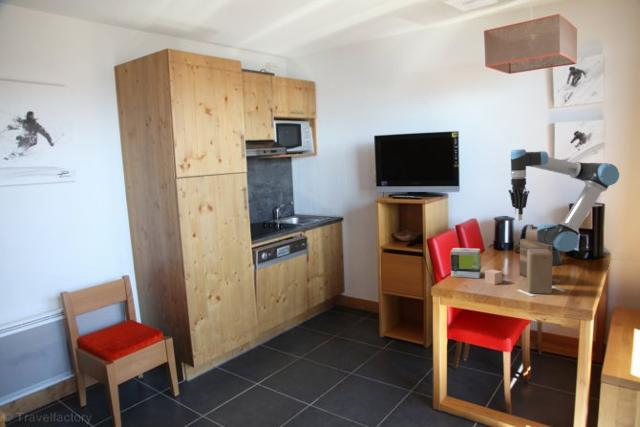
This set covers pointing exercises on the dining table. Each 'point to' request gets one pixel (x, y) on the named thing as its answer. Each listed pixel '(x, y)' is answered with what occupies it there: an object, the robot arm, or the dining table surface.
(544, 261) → the wooden block
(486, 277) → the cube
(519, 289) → the strip
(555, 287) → the strip
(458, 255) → the tea box
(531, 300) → the dining table surface
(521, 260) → the brown angled piece
